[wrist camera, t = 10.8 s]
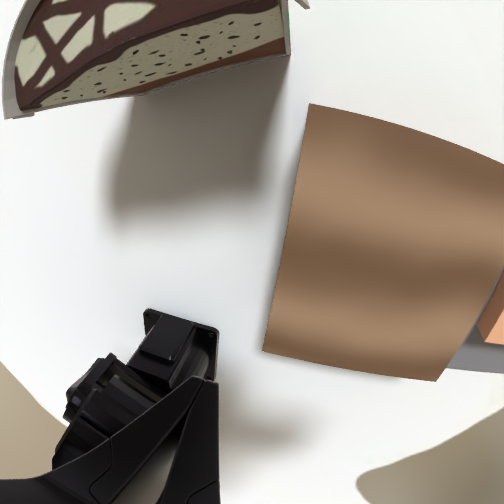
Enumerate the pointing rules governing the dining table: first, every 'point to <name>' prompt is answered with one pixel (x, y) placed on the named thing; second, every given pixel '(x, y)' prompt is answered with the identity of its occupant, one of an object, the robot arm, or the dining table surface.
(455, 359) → the mat
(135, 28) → the food container
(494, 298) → the peach block
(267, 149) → the dining table surface
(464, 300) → the brown flat block
